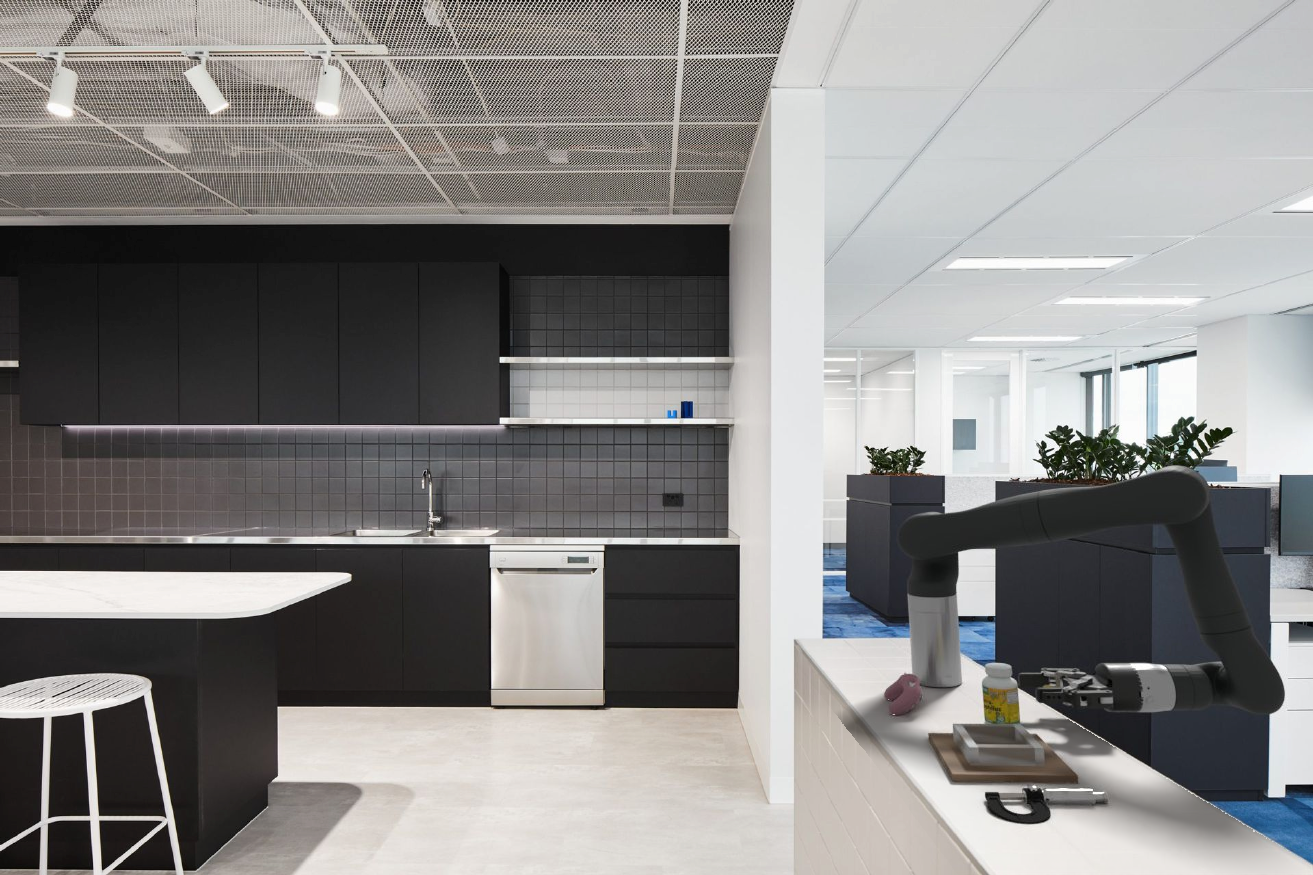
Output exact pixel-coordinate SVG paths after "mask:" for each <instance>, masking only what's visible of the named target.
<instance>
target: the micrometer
mask: <svg viewBox="0 0 1313 875" xmlns="http://www.w3.org/2000/svg"><path fill="white" fill-rule="evenodd" d="M1021 790H1022V791H1021V792H999V791H985V792H984V797H985V801H986V807H987V809H988V811H989V812H990V814H991V815H993V816H994V817H996V818H998V819H1001V820H1003V821H1007V822H1010V823H1015V824H1022V825H1035V824H1042V823H1045V822H1047V821H1048V820H1050V818H1051V812H1052V811H1051V809H1050V807H1049V805H1050V806H1054V805H1059V806H1077V805H1078V806H1095V805H1096V803H1103V804H1108V803H1109V796H1108V793H1107V792H1106V791H1104V790H1103V791H1093V789H1092V788H1091V787H1082V788H1080V787H1079V788H1078V787H1076V788H1075V787H1074V788H1073V787H1072V788H1071V787H1044V788H1040V787H1038V786H1037V785H1036V784H1028V785H1027V787H1023V788H1022V789H1021ZM1002 801H1024V802H1025V804H1026V805H1028V806H1029V807H1030V808H1031V810H1032V811H1031V812H1029V813H1028V812H1027V813H1018V812H1014V811H1011V810H1009V809H1008V808H1007V807H1006V806H1005V805H1004V804H1003V802H1002Z"/></svg>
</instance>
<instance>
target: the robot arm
mask: <svg viewBox="0 0 1313 875" xmlns="http://www.w3.org/2000/svg"><path fill="white" fill-rule="evenodd" d="M1158 525H1159V526H1161V525H1163V526H1164V528H1165V530H1166V532H1167V533H1168V536H1169V538H1170V539H1171V542H1172V544H1173V547H1174V550H1175V552H1176V556H1177V559H1178V563H1179V567H1180V571H1181V577H1182V579H1183V584H1184V590H1185V594H1186V596H1187V597H1186V598H1187V601H1188V604H1189V608H1190V611H1191V614H1192V616H1193V619H1194V622H1195V624H1196V625H1195V626H1196V628H1197V629H1198V633H1199V636H1200V638H1201V640H1202V643H1203V644H1204V645H1205V646H1206V648H1208V649H1209V651H1212V653H1214V654H1216V656H1217V657H1218V658H1219V660H1220V661H1212V662H1202V663H1195V664H1181V663H1180V664H1178V663H1177V664H1176V663H1175V664H1173V663H1172V664H1168V663H1167V664H1165V663H1164V664H1159V663H1157V664H1156V663H1150V662H1149V663H1148V662H1101V663H1098V664H1097V665H1096V666H1095V668H1094V673H1093V674H1092V675H1090V674H1087V672H1084V671H1080V668H1076V667H1074V668H1066V667H1063V668H1060V667H1059V668H1057V667H1056V668H1053V667H1049V668H1048V667H1042V668H1040V670H1041V671H1040V672H1020V673H1018V674H1017V685H1018V686H1020V687H1021V688H1035V689H1034V690H1035V691H1034V692H1035V701H1036V702H1038V703H1039V704H1063V705H1065V706H1071V708H1073V709H1075V710H1086V709H1087V710H1089V709H1090V710H1091V709H1093V710H1094V709H1095V710H1096V709H1097V710H1098V709H1099V710H1100V709H1104V711H1106V712H1108V713H1109V712H1110V713H1157V712H1165V711H1166V712H1167V711H1174V712H1175V711H1180V712H1181V711H1182V712H1183V711H1184V712H1185V711H1187V712H1188V711H1201V710H1205V709H1207V708H1209V706H1226V707H1227V706H1228V707H1233V708H1234V707H1235V708H1238V709H1240V710H1243V711H1246V712H1248V713H1252V714H1255V715H1263V716H1264V715H1265V716H1267V715H1268V716H1269V715H1271V714H1275V713H1276V712H1278V711H1279V710H1280V709H1281V708H1282V706H1284V702H1285V698H1286V696H1285V695H1286V690H1285V685H1284V682H1283V680H1282V676H1281V674H1280V673H1279V671H1278V669H1277V668H1276V666H1275V664H1274V662H1273V661H1272V658H1270V656H1269V654H1268V652H1267V651H1266V649H1265V647H1264V646H1263V645H1262V644H1261V642H1260V641H1259V640H1258V638H1257V637H1256V634H1255V632H1254V628H1253V625H1252V623H1251V620H1250V617H1249V615H1248V612H1247V610H1246V607H1245V605H1244V602H1243V599H1242V597H1241V594H1240V592H1239V590H1238V587H1237V585H1236V583H1235V580H1234V578H1233V576H1232V573H1231V571H1230V567H1229V565H1228V563H1227V561H1226V558H1225V555H1224V552H1223V549H1222V546H1221V544H1220V541H1219V536H1218V533H1217V529H1216V526H1215V521H1214V516H1213V510H1212V503H1211V489H1210V486H1209V483H1208V480H1206V478H1205V477H1204V476H1203V475H1202V474H1200V473H1199V472H1198V471H1197V470H1194V469H1193V468H1191V467H1188V466H1183V465H1169V466H1164V467H1161V468H1159V469H1156V470H1155V471H1152V472H1149V473H1146V474H1143V475H1139V476H1136V477H1134V478H1128V479H1125V480H1121V481H1118V482H1114V483H1110V484H1105V485H1098V486H1078V487H1077V486H1075V487H1062V488H1061V487H1060V488H1052V489H1051V488H1050V489H1045V490H1039V491H1033V492H1027V493H1023V494H1018V495H1017V494H1016V495H1014V496H1010V497H1005V498H1002V499H999V500H994V501H991V502H989V503H986V504H982V505H979V506H976V507H973V508H968V509H965V510H960V511H955V512H954V511H953V512H945V513H941V512H937V511H928V512H927V511H926V512H921V513H917V514H913V515H912V516H909V517H908V518H906V520H904V521H903V522H902V524H901V525H900V526H899V528H898V531H897V534H896V541H897V544H898V547H899V548H900V550H901V552H903V553H904V554H905V555H906V556H908V557H909V558H912V566H911V567H912V568H911V571H910V575H909V576H908V578H907V581H906V590H907V605H908V606H907V608H908V621H909V622H908V623H909V638H910V640H909V641H910V655H911V658H910V659H911V672H912V673H911V674H913V675H915V676H917V677H918V678H919V682H920V686H925V687H933V688H950V687H957V686H960V685H961V684H962V683H963V674H962V658H961V657H962V656H961V642H960V641H961V639H960V626H959V624H960V623H959V609H958V595H957V593H958V592H957V583H958V580H959V576H960V575H959V574H960V570H959V568H960V566H959V564H960V563H959V553H961V552H965V551H970V550H976V549H992V548H993V549H995V548H996V549H997V548H1009V547H1011V548H1012V547H1022V546H1032V545H1041V544H1046V543H1052V542H1053V543H1054V542H1058V541H1063V540H1069V539H1074V538H1079V537H1083V536H1087V535H1092V534H1095V533H1099V532H1102V531H1108V530H1112V529H1117V528H1126V527H1138V526H1139V527H1141V526H1158ZM1050 677H1051V678H1054V679H1051V678H1050Z"/></svg>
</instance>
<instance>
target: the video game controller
mask: <svg viewBox="0 0 1313 875" xmlns="http://www.w3.org/2000/svg"><path fill="white" fill-rule="evenodd" d="M922 692H923V689H922V686H921V684H920V682H919V678H918V677H917V676H915V675H913V674H912V673H907V672H904V673H903V674H902V675H900V676H899V678H897V680H896V681H894V682H893V683H892V684H890V685H889V686H888V687H887V688H886V689H885V691H884V694H883V697H884V699H885V700H886V699H889V700H892V702H891V703H890V705H889V706H888V712H889V714H890V715H892V714H895V715H894V716H901V715H903V714H906V713H907V712H911V710H912V709H913V707H914V706H916V705H917V704H918V702H921V701H923V698H924V696H923V694H922ZM889 700H888V701H889Z"/></svg>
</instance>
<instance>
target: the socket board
mask: <svg viewBox="0 0 1313 875" xmlns="http://www.w3.org/2000/svg"><path fill="white" fill-rule="evenodd" d="M952 731H953V732H945V733H944V732H928V734H927V735H928V741H929V740H930V741H929V742H930V744H931V746H932V747H934V748H933V749H934V751H935V752H936V754H937V756H938V758H939V760H940V761H941V763H942V764H943V766H944V767H945V768H944V769H946V773H948V775H949V777H950V779H951V780H952V782H953V783H954V782H957V783H958V782H959V783H961V782H962V783H963V782H965V783H1016V784H1017V783H1024V784H1025V783H1029V784H1030V783H1032V784H1037V783H1038V784H1079V775H1078V774H1077V773H1076V772H1075V771H1074V770H1073V769H1072V768H1071V767H1070V766H1069V765H1068V764H1067V763H1066V762H1065V761H1064V760H1063V758H1061V757H1060V756H1059V755H1058V754H1057V753H1056V752H1055V751H1054V750H1053V749H1052V748H1051V747H1050V746H1049V744H1047V743H1046V741H1044V739H1042V738H1041V736H1040V735H1038V734H1037V733H1030V732H1029V731H1028V730H1027V729H1026V728H1025V727H1024V726H1023V725H1022V724H1021V723H1020V724H986V723H952Z"/></svg>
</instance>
